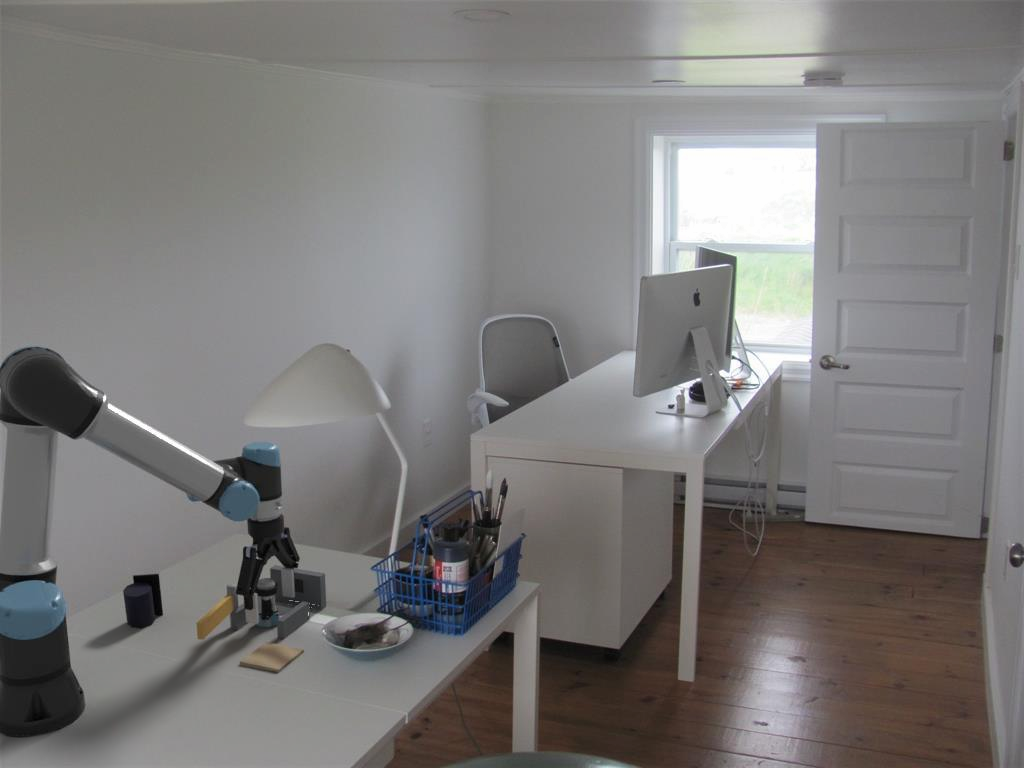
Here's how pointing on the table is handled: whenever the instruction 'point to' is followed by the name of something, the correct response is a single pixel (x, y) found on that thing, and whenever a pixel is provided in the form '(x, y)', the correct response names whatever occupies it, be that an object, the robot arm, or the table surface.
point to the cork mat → (271, 657)
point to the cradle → (306, 591)
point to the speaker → (143, 600)
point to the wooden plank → (218, 613)
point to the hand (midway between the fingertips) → (271, 609)
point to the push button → (267, 602)
